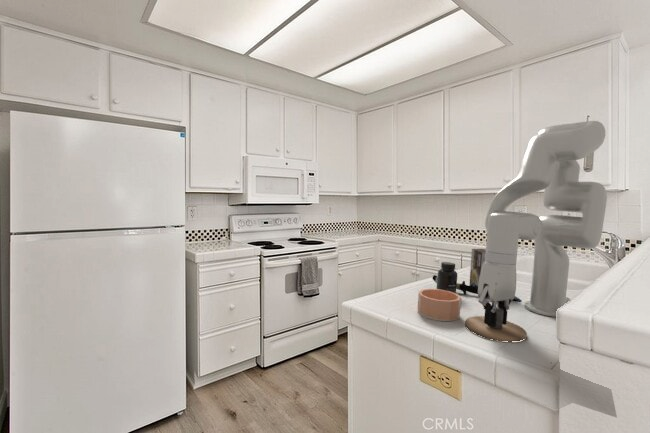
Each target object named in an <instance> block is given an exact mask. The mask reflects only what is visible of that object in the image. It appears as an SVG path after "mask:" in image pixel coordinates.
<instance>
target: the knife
mask: <svg viewBox="0 0 650 433" xmlns="http://www.w3.org/2000/svg"><path fill="white" fill-rule="evenodd" d="M437 276H438V275H436V274H433V275H432V278H431V279H432V280H433V282H435V283H436V284H437ZM469 285H470V284H469ZM469 285H468V284H466V281H465V280H463V281H462V282H461V283H458V282H457V287H456V290H459V291H461V292H463V296H465V295H467V293H472V294H474V295H478V286H477V285H475V284H474V283H472V284H471V285H470V286H469ZM511 303H522V299H520V298H519V297H518V296H516V295H515V298H514V299H513V300H512V301H511Z"/></svg>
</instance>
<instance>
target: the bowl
mask: <svg viewBox="0 0 650 433" xmlns="http://www.w3.org/2000/svg"><path fill="white" fill-rule="evenodd" d="M417 295H418V298H417V299H418V300H417V312H418V314H419V315H421V316H422V317H423V318H426V319H430V320H433V321H437V322H454V321H457V320H459V319H460V316H461V305H462V297H461V296H460V295H459V294H458V293H457V292H456V293H453V292H450V291H446V290H440V289H437V288H425V289H421V290H419V291H418V294H417Z"/></svg>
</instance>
